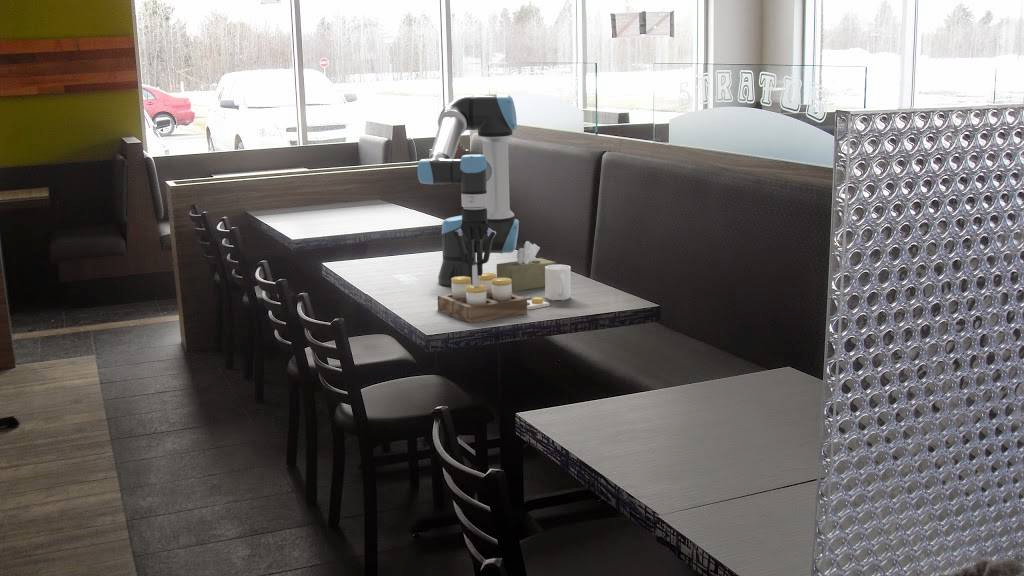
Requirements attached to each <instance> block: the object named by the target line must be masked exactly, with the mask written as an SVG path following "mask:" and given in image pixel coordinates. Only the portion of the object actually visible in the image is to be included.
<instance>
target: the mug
mask: <svg viewBox="0 0 1024 576" xmlns="http://www.w3.org/2000/svg"><path fill="white" fill-rule="evenodd" d="M571 270H572V269H571V266H570V265H567V264H556V265H548V266H545V286H544V295H545V296H544V297H545V298H546V299H547V300H549V301H555V300H561V301H566V299H567V300H569V299H570V298H571V296H572V295H571V294H572V291H571V288H572V287H571V286H572V284H571V275H572V274H571V273H572V272H571Z"/></svg>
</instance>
